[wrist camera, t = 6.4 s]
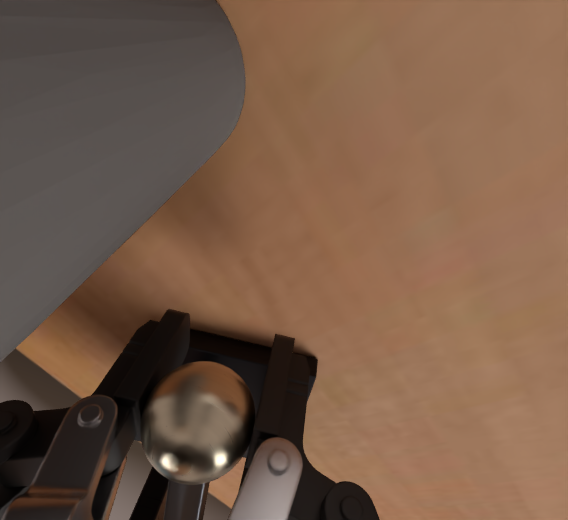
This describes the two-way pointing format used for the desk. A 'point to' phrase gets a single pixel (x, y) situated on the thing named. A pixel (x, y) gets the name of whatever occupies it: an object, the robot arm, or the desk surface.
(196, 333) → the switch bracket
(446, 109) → the desk surface
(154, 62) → the bottle
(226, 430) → the switch lever
